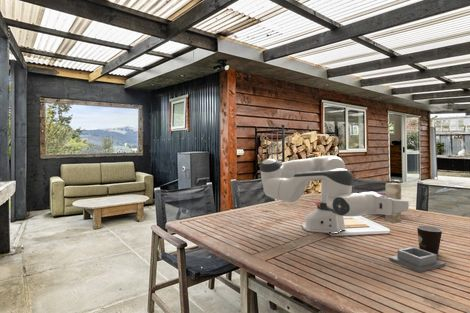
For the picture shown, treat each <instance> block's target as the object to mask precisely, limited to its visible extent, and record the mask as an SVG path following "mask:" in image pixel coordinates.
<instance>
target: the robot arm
mask: <svg viewBox="0 0 470 313" xmlns="http://www.w3.org/2000/svg"><path fill="white" fill-rule="evenodd" d="M259 165H260V166H259V170H260V178H261V183H262V187H263V192H264V195H265V197H266V198H268V199H271V200H277V201H282V202H286V203H295V202H297V201H298V200H299V199H300V198H302V196H303V195H304V192H305V190H306V188H307V186H308V185H309V182H310V181H321V184H320V185H321V188H320V201H318V200H316V201H315V202H314V204H315V205H316V209H314V210H313V211H311V212H310V213H308V214H307V216H306V219H305V222H302V224H301V228H302V229H303V230H304V231H307V232H312V233H314V232H315V233H323V234H324V233H326V234H330V233H329V232H339V231H340V230H344V229H345V228H346V225H345V224H346V223H345V219H344V218H345V217H351V218H352V217H360V216H363V215H365V216H368V215H382V216H385V215H391V214H392V213H399V212H401V213H404V212H407V211H409V208H410V207H409V206H410V204H409V201H408V200H406V199H405V200H404V199H402V198H401V199H395V198H390V197H385V196H382V195H380V194H377V193H378V192H377V191H363V192H359V193H357V192H353V183H354V178H355V177H354V175H353V173H352V172H351V171H350V170H349V169H347V168H346V163H345V161H344V160H343V159H342V158H341V157H339V156H336V155H333V154H331V155H330V154H329V155H322V156H321V155H320V156H316V157H310V158H309V157H308V158H301V159H292V160H287V161H282V162H281V161H280V160H278V159H276V158H266V159H264V160H262V161H261V162H260V164H259ZM339 233H340V232H339Z"/></svg>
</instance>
